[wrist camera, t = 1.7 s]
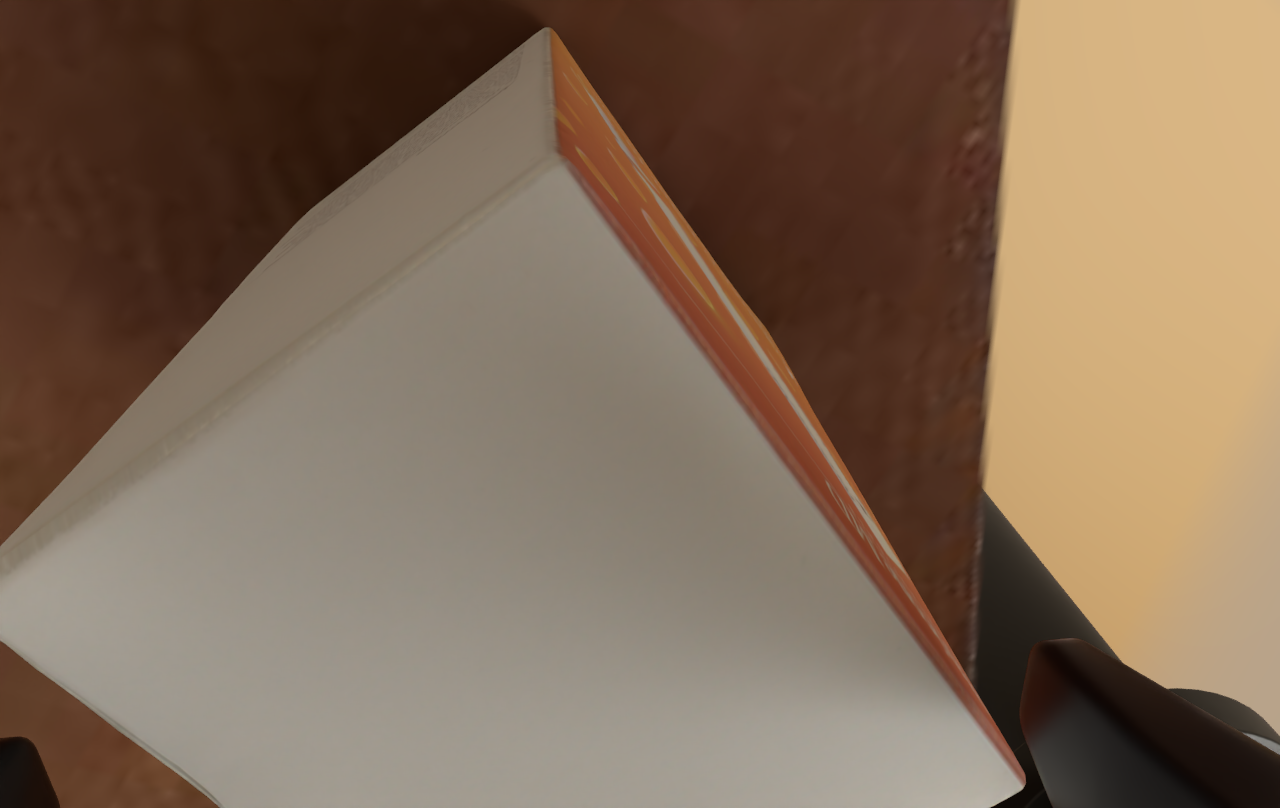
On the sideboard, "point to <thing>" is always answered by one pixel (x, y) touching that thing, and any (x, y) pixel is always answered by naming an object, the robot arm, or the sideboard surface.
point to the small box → (495, 515)
